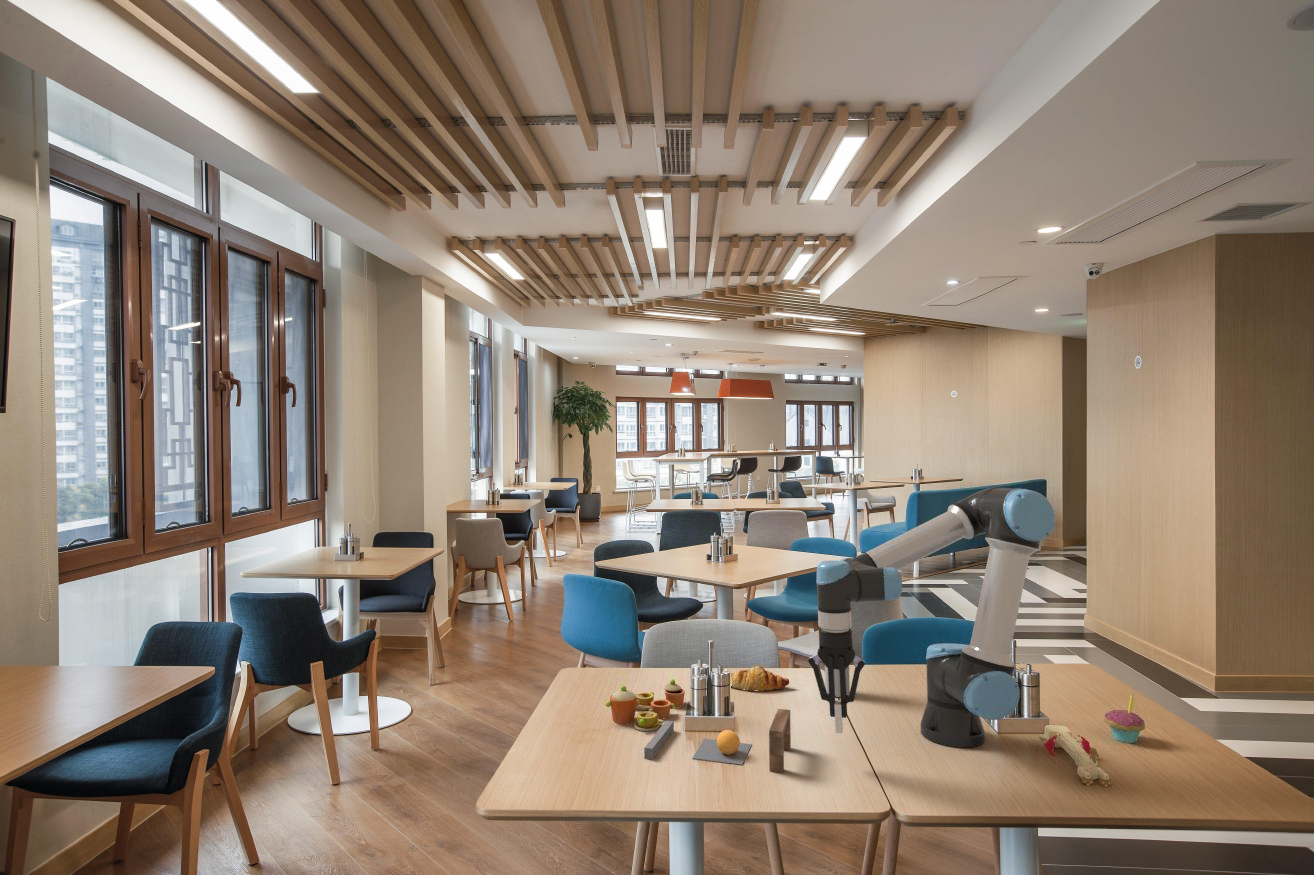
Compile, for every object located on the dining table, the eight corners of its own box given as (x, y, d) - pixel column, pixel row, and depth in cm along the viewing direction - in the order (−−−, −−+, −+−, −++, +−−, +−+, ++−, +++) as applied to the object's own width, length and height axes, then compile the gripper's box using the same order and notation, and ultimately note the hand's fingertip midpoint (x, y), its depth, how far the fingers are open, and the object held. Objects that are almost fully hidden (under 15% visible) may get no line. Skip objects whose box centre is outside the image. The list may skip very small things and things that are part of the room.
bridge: (790, 747, 173) (790, 709, 174) (782, 773, 160) (782, 731, 160) (778, 746, 174) (778, 708, 174) (769, 771, 160) (769, 730, 161)
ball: (714, 735, 174) (729, 754, 173) (710, 743, 168) (725, 763, 167) (731, 722, 173) (745, 740, 172) (727, 730, 168) (742, 749, 166)
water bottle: (851, 699, 208) (850, 613, 208) (824, 697, 209) (823, 612, 210) (849, 689, 217) (848, 607, 217) (823, 687, 218) (822, 606, 219)
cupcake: (1141, 736, 179) (1140, 688, 179) (1148, 749, 171) (1147, 699, 172) (1102, 731, 183) (1100, 684, 183) (1107, 743, 175) (1106, 694, 175)
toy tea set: (652, 736, 182) (651, 698, 182) (600, 726, 189) (600, 690, 189) (693, 704, 205) (693, 671, 205) (646, 696, 212) (646, 664, 212)
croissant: (720, 699, 218) (718, 680, 215) (722, 675, 227) (720, 656, 224) (789, 702, 214) (789, 682, 211) (789, 677, 223) (788, 658, 220)
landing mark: (751, 745, 175) (751, 744, 175) (742, 765, 164) (742, 764, 164) (704, 739, 179) (704, 738, 179) (692, 758, 167) (692, 758, 167)
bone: (1122, 794, 152) (1072, 738, 177) (1122, 754, 151) (1073, 704, 176) (1072, 790, 153) (1030, 736, 178) (1072, 751, 153) (1030, 702, 178)
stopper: (673, 731, 184) (673, 721, 184) (652, 759, 167) (652, 748, 167) (666, 730, 185) (666, 720, 185) (644, 758, 168) (644, 747, 168)
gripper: (864, 625, 165) (868, 727, 165) (808, 623, 169) (812, 722, 169) (863, 633, 158) (868, 739, 158) (804, 631, 162) (809, 734, 162)
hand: (839, 730), depth 163 cm, fingers closed
